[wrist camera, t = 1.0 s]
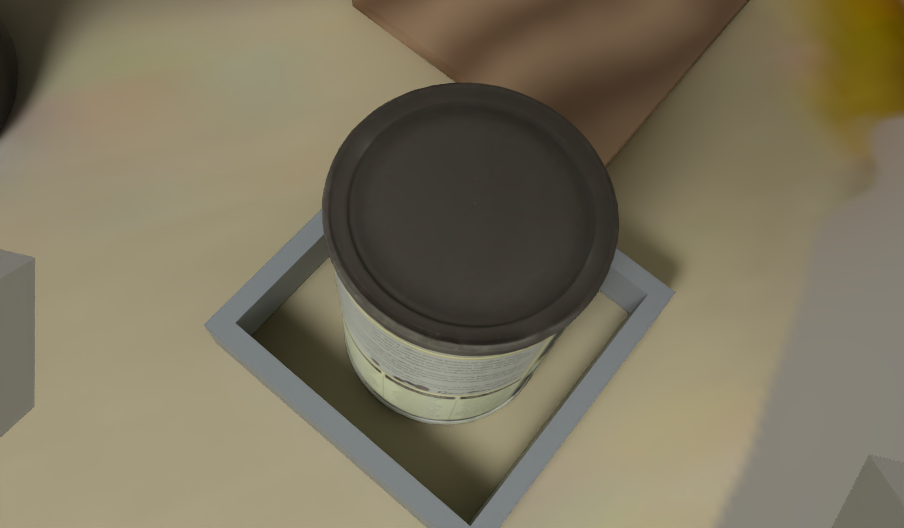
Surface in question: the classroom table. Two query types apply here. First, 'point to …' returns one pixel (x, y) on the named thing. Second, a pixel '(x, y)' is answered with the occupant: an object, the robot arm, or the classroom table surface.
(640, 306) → the grey tub
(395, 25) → the walnut board
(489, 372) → the coffee can
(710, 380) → the classroom table surface
